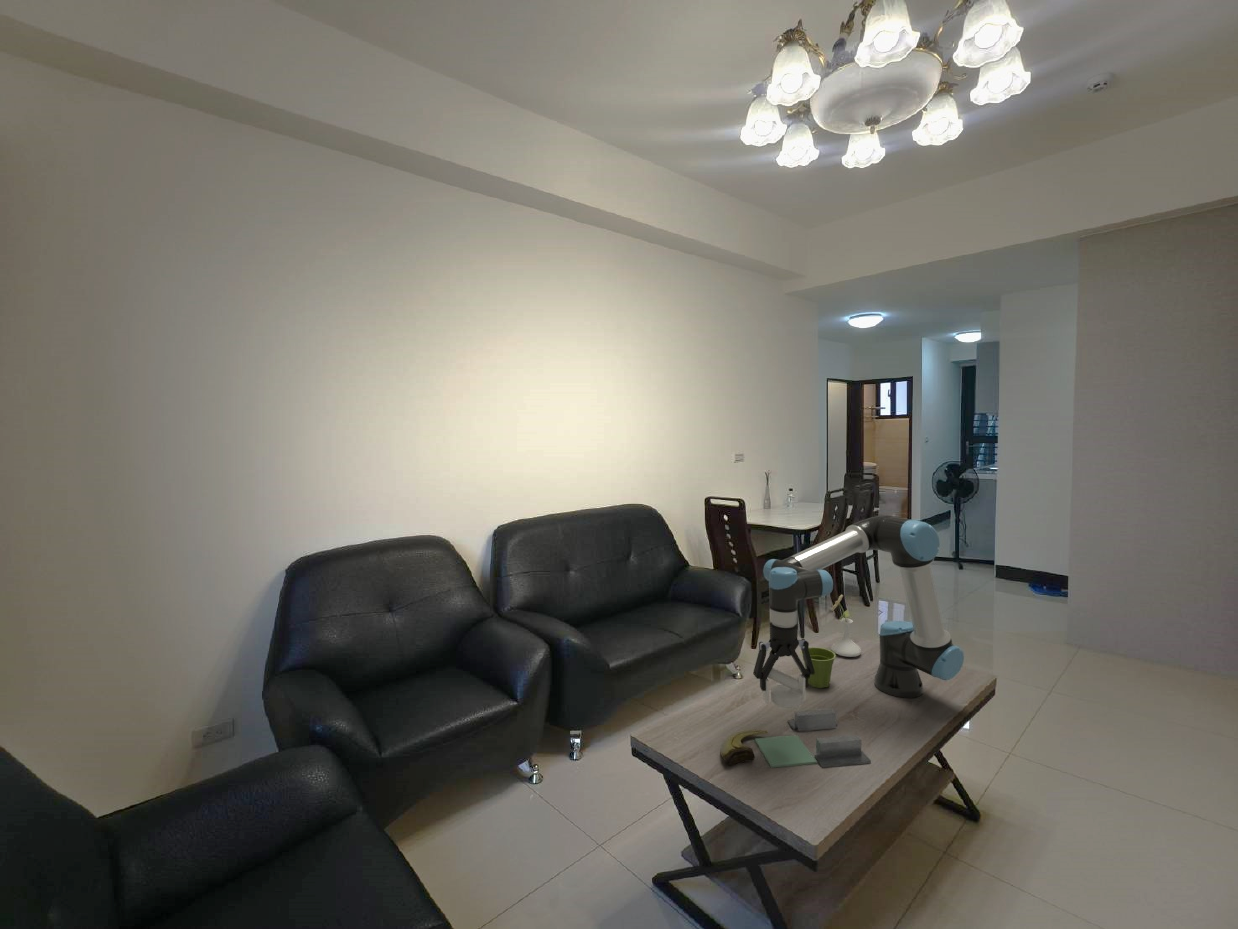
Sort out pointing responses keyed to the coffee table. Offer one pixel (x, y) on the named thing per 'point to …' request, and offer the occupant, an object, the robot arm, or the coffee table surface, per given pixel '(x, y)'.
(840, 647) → the flower in vase
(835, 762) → the vise
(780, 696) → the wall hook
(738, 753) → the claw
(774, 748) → the felt pad
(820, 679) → the plant pot
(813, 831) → the coffee table surface
